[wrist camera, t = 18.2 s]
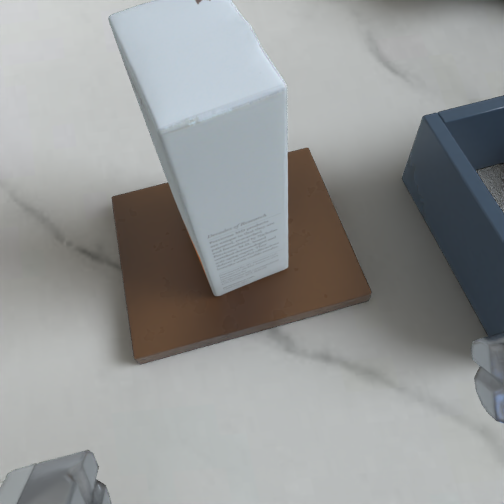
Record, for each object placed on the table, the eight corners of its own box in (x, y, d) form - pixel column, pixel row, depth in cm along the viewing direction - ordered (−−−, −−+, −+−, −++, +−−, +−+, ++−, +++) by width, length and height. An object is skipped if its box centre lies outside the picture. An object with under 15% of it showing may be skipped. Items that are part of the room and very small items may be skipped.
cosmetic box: (177, 211, 26) (102, 10, 16) (247, 185, 27) (221, -26, 16) (213, 303, 23) (153, 131, 13) (291, 271, 24) (295, 82, 13)
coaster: (139, 365, 23) (133, 359, 22) (116, 206, 28) (110, 196, 27) (369, 301, 24) (372, 293, 23) (307, 157, 29) (308, 146, 28)
